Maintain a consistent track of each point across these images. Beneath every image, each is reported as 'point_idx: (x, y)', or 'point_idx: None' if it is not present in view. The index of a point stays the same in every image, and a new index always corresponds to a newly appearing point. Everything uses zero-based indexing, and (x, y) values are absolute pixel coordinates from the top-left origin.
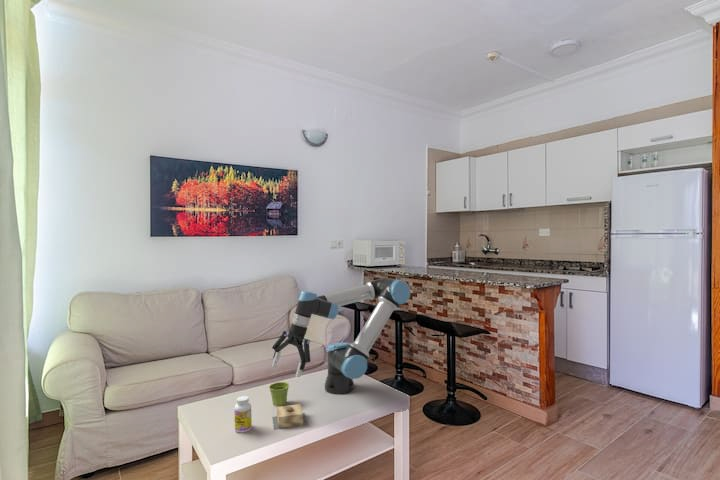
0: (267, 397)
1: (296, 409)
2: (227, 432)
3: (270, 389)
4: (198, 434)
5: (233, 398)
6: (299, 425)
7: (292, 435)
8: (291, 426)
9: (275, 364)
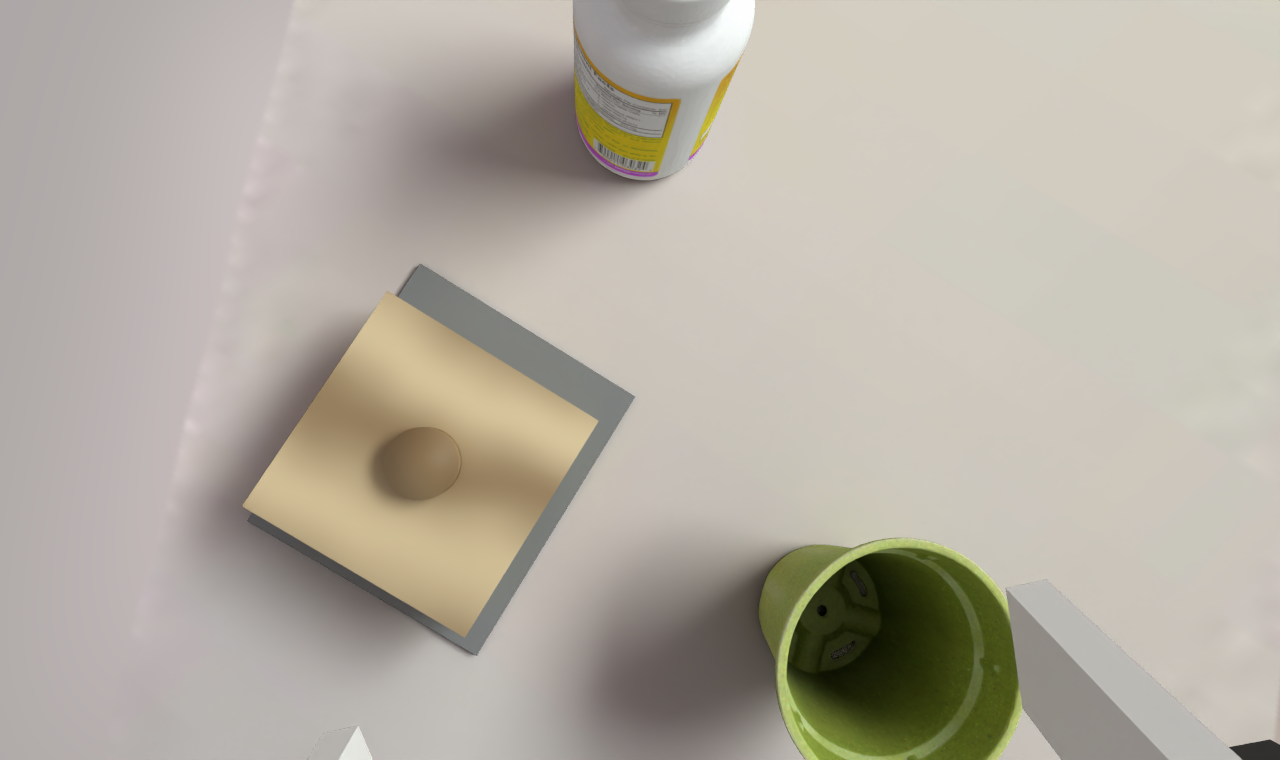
0: None
1: (383, 524)
2: None
3: (903, 538)
4: None
5: (1222, 384)
6: None
7: (226, 318)
8: None
9: (1045, 687)
